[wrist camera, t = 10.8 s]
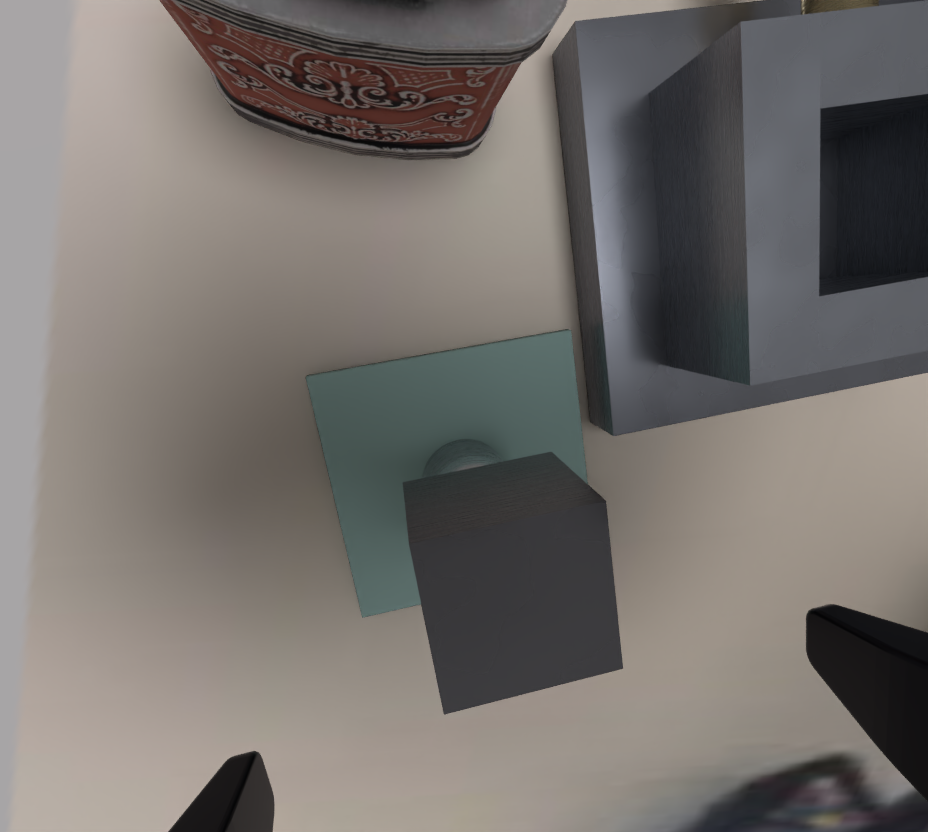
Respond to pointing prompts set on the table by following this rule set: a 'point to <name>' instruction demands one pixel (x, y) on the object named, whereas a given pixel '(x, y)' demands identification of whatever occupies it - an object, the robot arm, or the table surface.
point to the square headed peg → (510, 573)
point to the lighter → (368, 67)
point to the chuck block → (746, 203)
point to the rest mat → (434, 438)
